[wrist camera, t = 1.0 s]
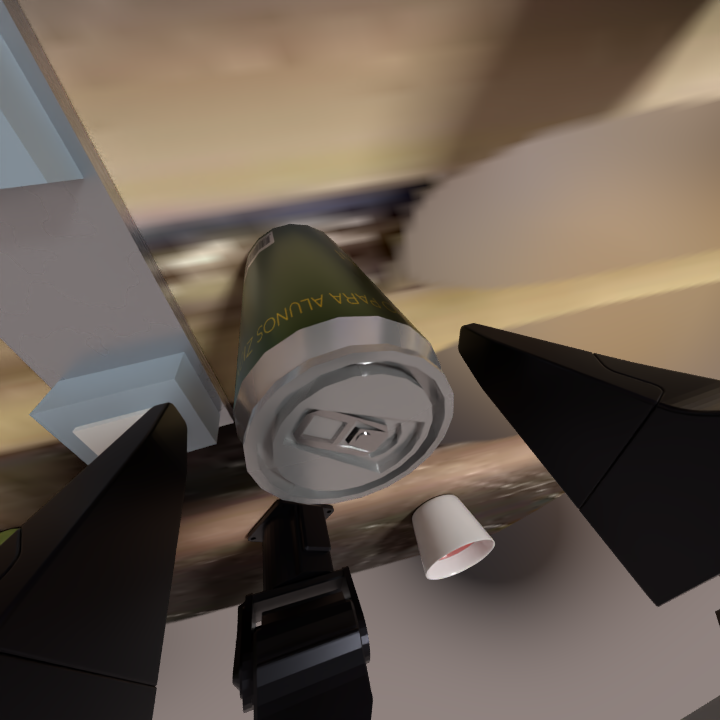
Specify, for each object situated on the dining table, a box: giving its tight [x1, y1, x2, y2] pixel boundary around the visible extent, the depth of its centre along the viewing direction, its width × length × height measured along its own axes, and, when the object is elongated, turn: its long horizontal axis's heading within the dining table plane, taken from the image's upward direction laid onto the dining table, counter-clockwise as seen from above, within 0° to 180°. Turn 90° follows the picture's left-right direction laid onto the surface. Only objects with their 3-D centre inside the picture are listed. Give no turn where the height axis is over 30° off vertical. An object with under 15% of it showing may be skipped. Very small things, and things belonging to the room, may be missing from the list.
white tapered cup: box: [412, 495, 495, 580], centre depth 36 cm, size 9×9×6 cm
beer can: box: [233, 224, 454, 504], centre depth 11 cm, size 5×5×12 cm
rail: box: [0, 0, 234, 427], centre depth 13 cm, size 20×7×1 cm, turn 6°
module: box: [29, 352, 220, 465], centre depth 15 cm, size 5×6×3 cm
